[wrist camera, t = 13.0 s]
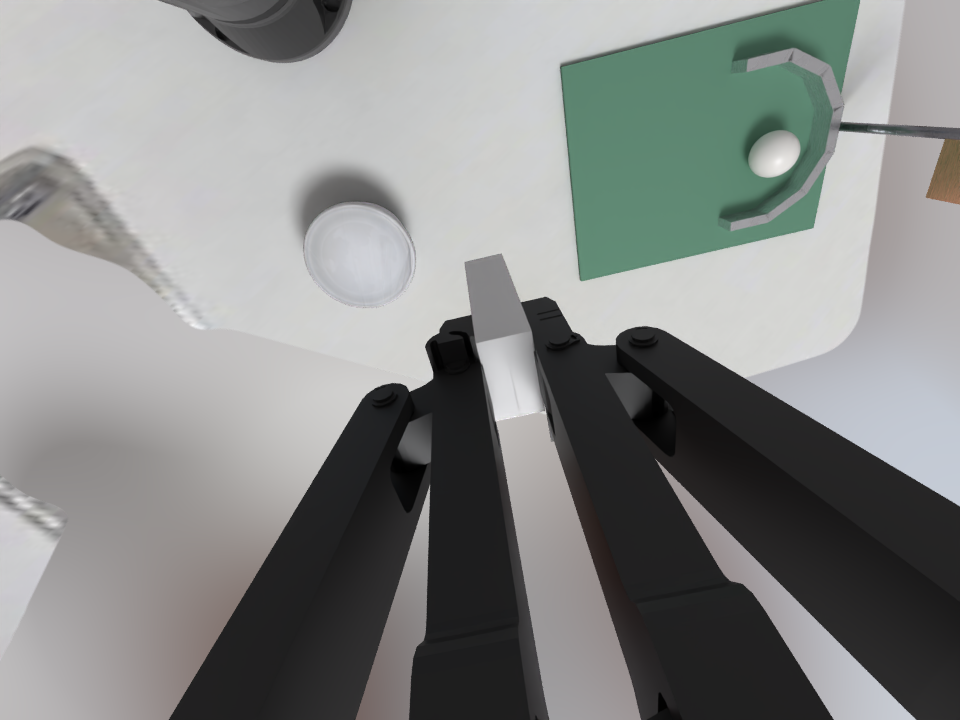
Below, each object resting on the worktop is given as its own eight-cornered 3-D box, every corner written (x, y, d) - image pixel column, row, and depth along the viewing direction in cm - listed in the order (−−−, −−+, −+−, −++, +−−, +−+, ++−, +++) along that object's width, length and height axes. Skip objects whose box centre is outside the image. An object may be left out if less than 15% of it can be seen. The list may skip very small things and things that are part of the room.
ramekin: (435, 264, 50) (435, 280, 45) (356, 306, 52) (348, 326, 47) (381, 172, 44) (374, 180, 40) (295, 224, 46) (279, 237, 42)
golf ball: (741, 134, 44) (767, 142, 41) (785, 121, 44) (815, 127, 40) (737, 177, 47) (761, 188, 43) (778, 164, 46) (806, 174, 43)
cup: (731, 61, 41) (876, 41, 27) (852, 31, 40) (1061, -5, 27) (717, 225, 49) (822, 273, 36) (817, 202, 49) (963, 241, 35)
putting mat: (560, 67, 40) (561, 67, 40) (857, -9, 39) (862, -10, 39) (580, 279, 52) (581, 281, 52) (810, 226, 51) (813, 228, 50)
